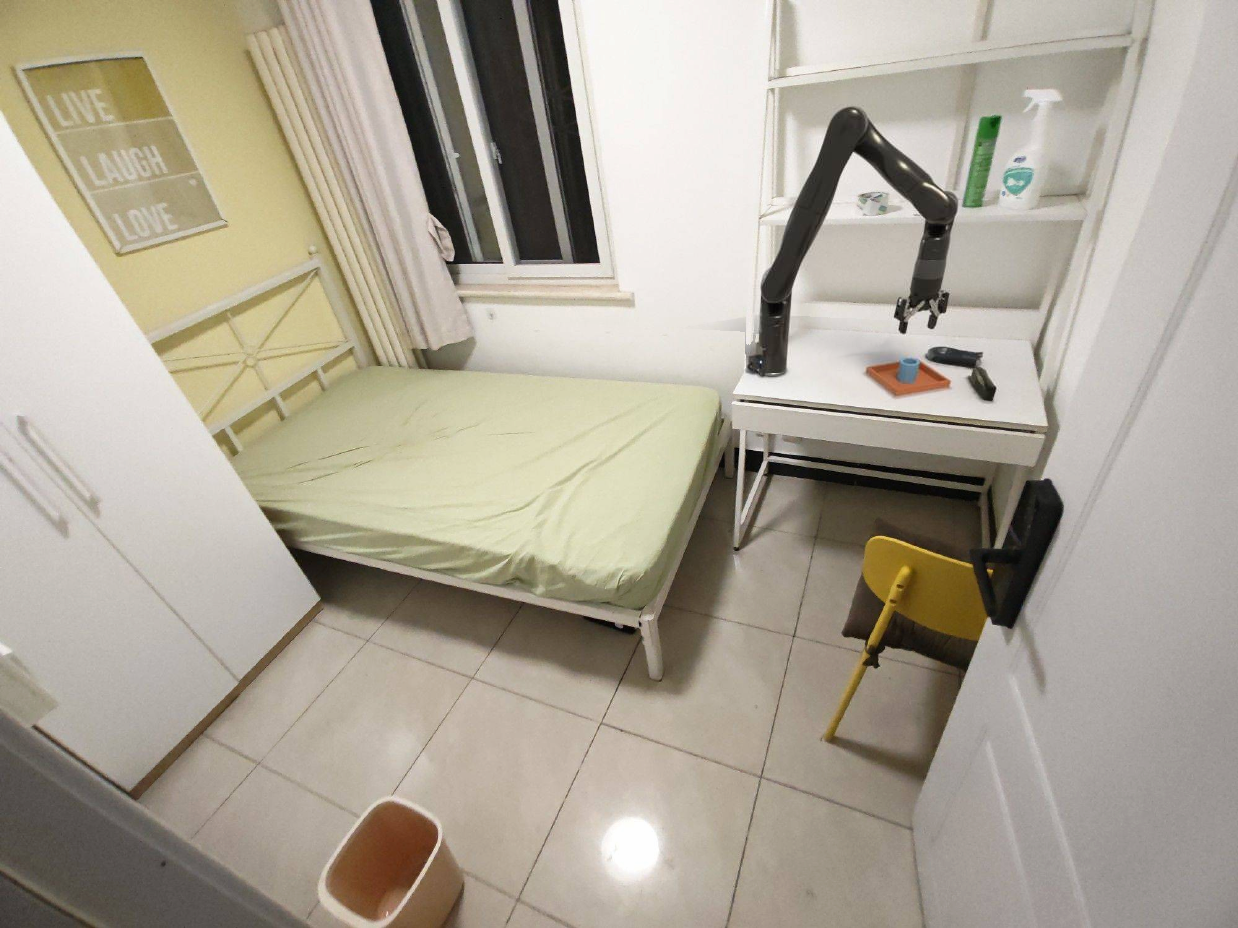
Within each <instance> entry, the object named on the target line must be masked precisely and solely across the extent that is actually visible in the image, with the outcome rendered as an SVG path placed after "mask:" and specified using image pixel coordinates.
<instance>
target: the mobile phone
mask: <svg viewBox="0 0 1238 928" xmlns="http://www.w3.org/2000/svg"><path fill="white" fill-rule="evenodd" d="M967 378H968V380H969V381H970V382H971V384H972V386H973V387H974V389H975V391H976V393H977V395H978V396H979V397H980V399H981V400H983V401H984V402H993V401H994V398H995V395H996V392H997V386H996V385H995V384H994V382H993V381H992V380H991V378H990V377H989V374H988V371H987V370H986V369H985V368H983V367H981V366H977V367H975V368H974V367H973V368H972V371H971V375H967Z"/></svg>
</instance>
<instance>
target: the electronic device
mask: <svg viewBox="0 0 1238 928" xmlns="http://www.w3.org/2000/svg"><path fill="white" fill-rule="evenodd" d="M983 357H984V351H971V350H970V351H969V350H963V349H958V348H954V347H950V346H949V347H948V346H941V345H940V346H933V347H930V348H929V349H928V350H927V353H926V358H928V360H930V361H932V362H934V363H938V364H944V365H945V364H946V365H951V366H961V367H967V368H968V367H969V368H973V369H974V368H975V367H979V364H980V361H981V359H982V358H983Z"/></svg>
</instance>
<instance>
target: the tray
mask: <svg viewBox="0 0 1238 928" xmlns="http://www.w3.org/2000/svg"><path fill="white" fill-rule="evenodd" d="M915 359H917V360H919V361H920V364H919V369H918V373H917V378H916V381H915V382H914V383H902V382H899V381H898V380H897V374H898V369H899V364H900V360H899V361H898V360H897V361H894V362H893V361H892V362H887V363H880V364H876V365H871V366H866V370H865V374H867V376H869V377H871V378H872V379H873V380H874V381H875V382H877V383H878V384H879V385H881V386H882V387H883V388H885V390H886V391H888V392H889V393H891V394H892V395H893V396H894V397H901V396H906V395H914V394H917V393H923V392H924V393H925V392H930V391H936V390H940V389H946V388H950V385H951V382H952V380H951V379H949V378H947V377H946V376H945V375H943V374H942V373H940V372H938V371H937V370H935V369H933V368H932V367H931V366H930V365H928V364H926V363H924V362H923V361H921V360H920V359H919V358H915Z"/></svg>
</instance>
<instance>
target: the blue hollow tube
mask: <svg viewBox="0 0 1238 928" xmlns="http://www.w3.org/2000/svg"><path fill="white" fill-rule="evenodd" d="M917 359H918V358H917ZM917 359H916V358H914V357H902V358H901V359H900V360H899V361H900V364H899V369H898V374H897V380H898V381H899V382H902V383H914V382H915V381H916V378H917V373H918V369H919V364H920V361H921V360H920V359H918V360H917ZM919 360H920V361H919Z"/></svg>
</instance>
